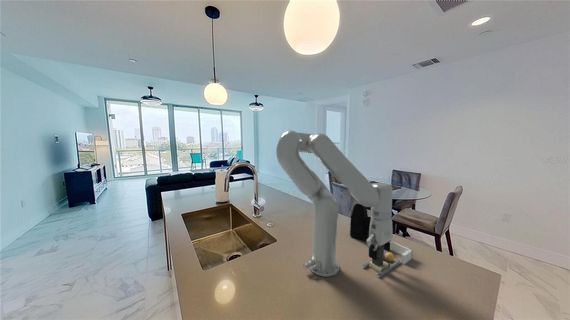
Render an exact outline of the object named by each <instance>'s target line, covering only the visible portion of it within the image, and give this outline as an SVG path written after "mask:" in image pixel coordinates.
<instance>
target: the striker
mask: <svg viewBox="0 0 570 320" xmlns="http://www.w3.org/2000/svg"><path fill="white" fill-rule="evenodd" d="M372 245H373V246H375V244H374V243H373V244H372ZM376 250H377V260H374V259H372V258H371V260H372V261H371V260H369V261H370V262H369V261H368V262H369V266H368V267H369V268H370V269H372V270H374V271H375V272H377V273H378V274H379V273H380V272H382V271H383V270H384V269H386V268H387V267H389V266H390V265H391V261H390V260H389V259H387V258H385V256H384V246H383V245H381V246H379V245H378V246H377V249H376Z"/></svg>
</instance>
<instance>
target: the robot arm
mask: <svg viewBox="0 0 570 320" xmlns="http://www.w3.org/2000/svg"><path fill="white" fill-rule="evenodd" d="M300 153H308V154H314V156H315V157H316V158H317V159H318V160H319V162H320V163H321V164H323V165H322V166H324V167H325V168H326V169H327V171H328V172H329V173H330V174H331V175H332V176H333V177H334V178H335V179H337V180H338V181H339V182H340V183H341V184H342V185H344V187H345V188H346V189H347V191H349V193H350V195H351V196H352V198H353V199H355V200H356V201H357V202H358V204H361V205H363V206H365V207H367V208H370V217H371V220H370V228H369V238H368V239H367V240H366V241H365V242H366V247H367V248H368V257H369V258H371V260H372V259H374V260H377V250H376V249H377V246H378V245H379V246H381V245H383V246H384V250H386V251H388V252H391V250H390V242H391V241H393V240H392V239H393V232H394V231H393V229H394V228H393V220H392V216H393V215H392V214H393V213H392V211H393V192H394V191H393V187H392V185H391V184H389V183H386V182H375V183H371V182H370V181H369V180H368V179H367V178H366V176H365V175H364V174H363V173H362V172H361V171H359V170H358V168H357V167H356V166H355V165H354V164H353V163H352V162H351V161H350V160H349V159H348V157H346V156H345V154H344V153H343V152H342V151H341V150H340V148H339V147H338V146H337V145H336V144H335V143H334V141H333V140H331V138H329V136H328V135H326V134H324V133H320V132H319V133H307V132H306V133H305V132H297V131H294V130H287V131H285V132H283V133H282V134H281V136H280V137H279V138H278V142H277V146H276V159H277V162H278V163H279V166H280V167H281V168H282V170H283V171H284V172H285V173H286V175H287V176H288V178H289V179H290V180H291V182H292V183H293V184H294V185H295V186H296V187H297V189H298V190H299V192H300V193H301V194H303V195H305V196H306V197H307V198H308V199H309V200H310V202H311V203H312V207H313V219H312V247H311V248H312V250H311V252H312V253H311V254H312V256H310V257H309V260H308V262H304V263H303V268H304V269H305V270H307V269H309V270H310V271H311V272H312V273H313V274H315V275H316V276H319V277H334V276H336V275H338V273H339V271H340V265H339V262H338V261H336V260H337V259H336V256H337V253H336V252H337V227H338V226H337V225H338V218H339V211H340V207H339V206H340V205H339V203H338V200H337V198H336V196H335V195H334V194H333V193H332V192H331V190H329V188H328V187H327V186H326V185H325V183H324V182H323V181H322V180H321V179H320V177H319V176H318V174H316V172H315V171H314V170H312V169H310V167H309V166H308V165H307V164H306V162H305V161H304V159H303V158H302V157H301V155H300ZM374 244H375V246H373V245H374Z"/></svg>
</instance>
